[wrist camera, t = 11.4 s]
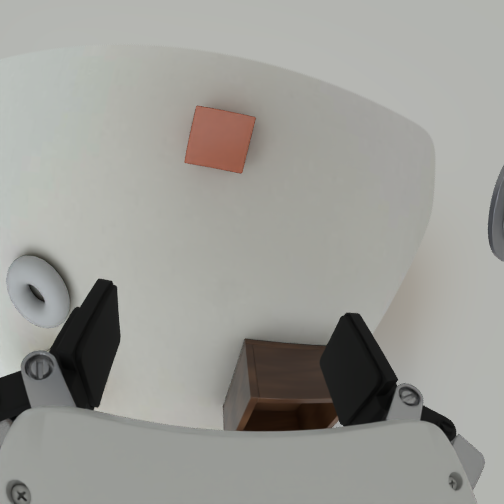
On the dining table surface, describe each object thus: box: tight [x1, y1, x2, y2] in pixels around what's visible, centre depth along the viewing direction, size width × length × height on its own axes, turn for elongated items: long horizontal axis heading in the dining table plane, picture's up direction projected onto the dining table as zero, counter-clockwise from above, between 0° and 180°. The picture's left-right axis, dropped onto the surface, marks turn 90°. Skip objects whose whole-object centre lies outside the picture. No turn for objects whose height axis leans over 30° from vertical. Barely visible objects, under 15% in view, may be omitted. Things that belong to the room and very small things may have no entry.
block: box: [184, 106, 256, 173], centre depth 21 cm, size 4×4×4 cm
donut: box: [6, 256, 70, 328], centre depth 26 cm, size 10×4×10 cm
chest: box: [223, 339, 339, 431], centre depth 34 cm, size 16×13×9 cm
